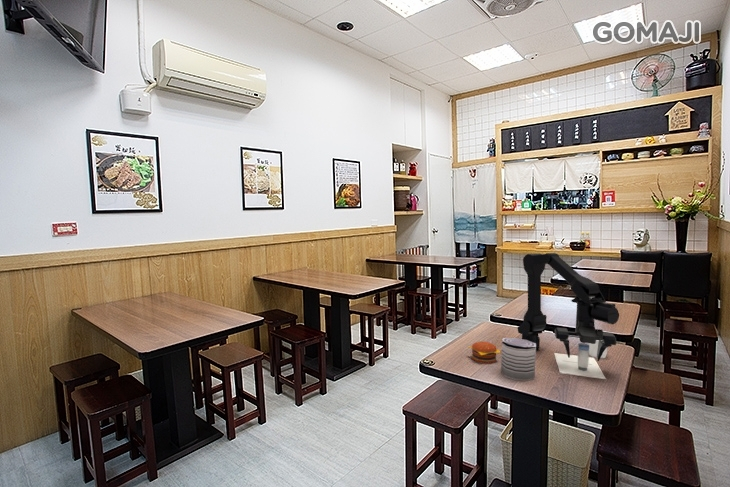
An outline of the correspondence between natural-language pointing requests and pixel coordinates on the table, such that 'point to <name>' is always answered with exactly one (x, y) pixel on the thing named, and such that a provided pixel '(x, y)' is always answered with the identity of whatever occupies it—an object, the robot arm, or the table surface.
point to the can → (518, 359)
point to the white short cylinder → (594, 348)
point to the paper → (571, 366)
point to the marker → (583, 356)
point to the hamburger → (484, 352)
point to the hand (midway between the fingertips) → (583, 359)
